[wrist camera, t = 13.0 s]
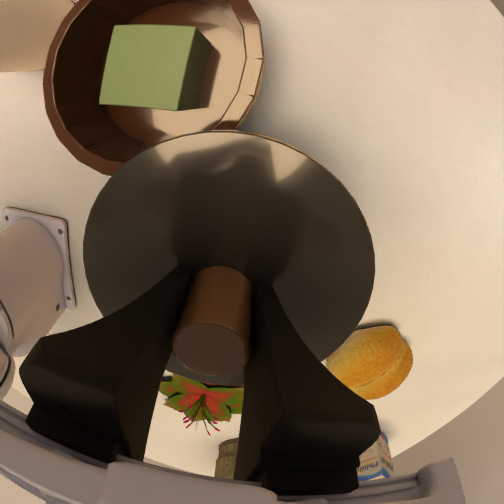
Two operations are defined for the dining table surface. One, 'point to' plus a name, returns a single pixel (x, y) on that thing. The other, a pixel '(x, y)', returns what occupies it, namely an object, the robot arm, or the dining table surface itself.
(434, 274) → the dining table surface
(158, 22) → the pot
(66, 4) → the can
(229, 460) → the thermos
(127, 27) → the block
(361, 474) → the medicine box
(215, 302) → the lid
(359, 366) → the bread roll
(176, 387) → the lily flower
